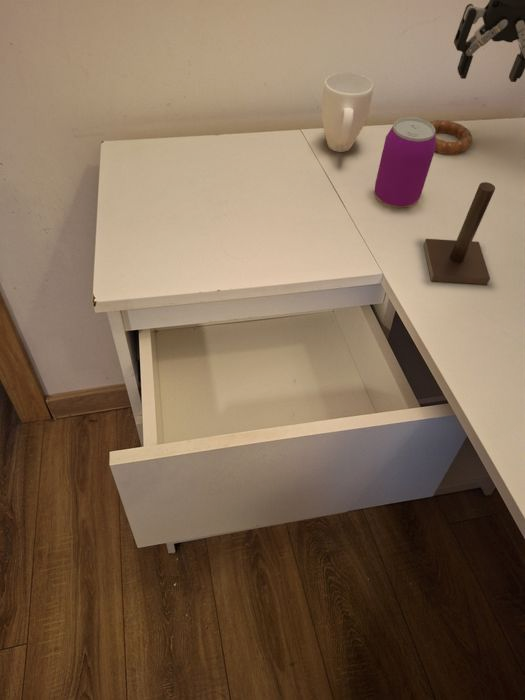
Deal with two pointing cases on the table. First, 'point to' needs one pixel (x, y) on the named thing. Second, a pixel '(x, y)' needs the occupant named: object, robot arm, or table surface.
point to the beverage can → (405, 162)
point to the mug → (345, 108)
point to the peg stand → (461, 247)
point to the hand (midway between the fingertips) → (487, 78)
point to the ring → (456, 130)
